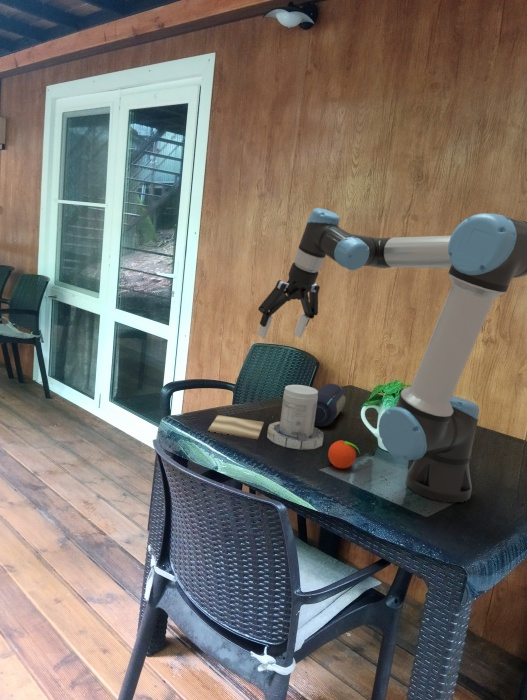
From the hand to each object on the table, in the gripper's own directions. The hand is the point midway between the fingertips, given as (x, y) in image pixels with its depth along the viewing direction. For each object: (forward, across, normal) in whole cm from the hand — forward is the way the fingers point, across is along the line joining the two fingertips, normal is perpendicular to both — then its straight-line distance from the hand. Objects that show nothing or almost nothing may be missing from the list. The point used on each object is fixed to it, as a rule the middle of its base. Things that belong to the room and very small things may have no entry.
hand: (279, 335), depth 161 cm
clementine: (+17, 0, +37) cm, 41 cm away
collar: (+23, -3, +18) cm, 29 cm away
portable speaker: (+27, -25, +7) cm, 38 cm away
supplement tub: (+24, -3, +18) cm, 30 cm away
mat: (+28, +8, +5) cm, 29 cm away
